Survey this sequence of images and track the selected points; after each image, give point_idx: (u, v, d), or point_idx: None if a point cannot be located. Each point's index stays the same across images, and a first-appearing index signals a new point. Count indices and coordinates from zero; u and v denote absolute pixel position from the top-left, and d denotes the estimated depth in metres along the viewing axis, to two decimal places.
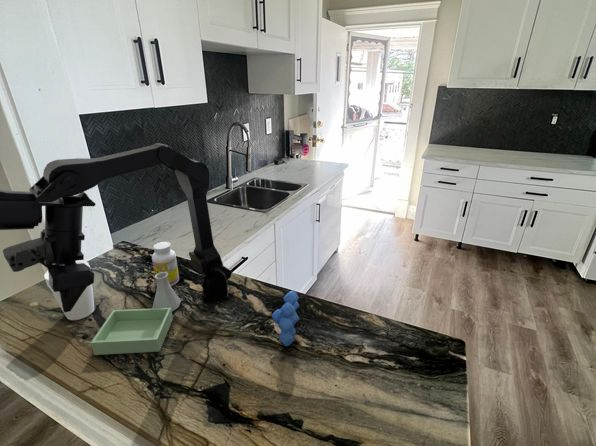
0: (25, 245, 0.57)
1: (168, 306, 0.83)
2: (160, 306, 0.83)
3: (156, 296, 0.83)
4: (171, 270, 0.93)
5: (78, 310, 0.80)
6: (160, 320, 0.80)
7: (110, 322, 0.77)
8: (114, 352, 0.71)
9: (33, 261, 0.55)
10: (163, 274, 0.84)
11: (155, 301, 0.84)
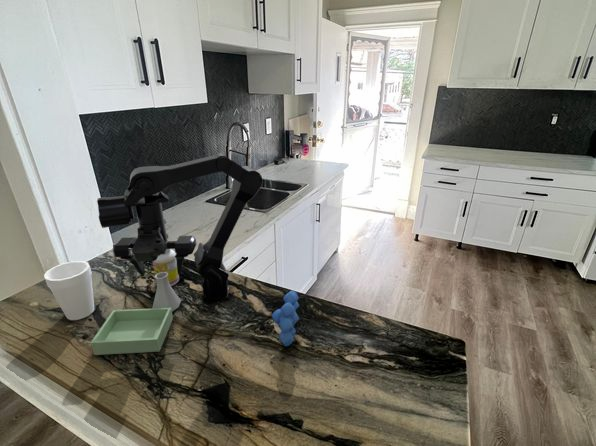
0: (143, 242, 0.73)
1: (168, 306, 0.83)
2: (160, 306, 0.83)
3: (156, 296, 0.83)
4: (171, 270, 0.93)
5: (78, 310, 0.80)
6: (160, 320, 0.80)
7: (110, 322, 0.77)
8: (114, 352, 0.71)
9: (165, 246, 0.74)
10: (163, 274, 0.84)
11: (155, 301, 0.84)
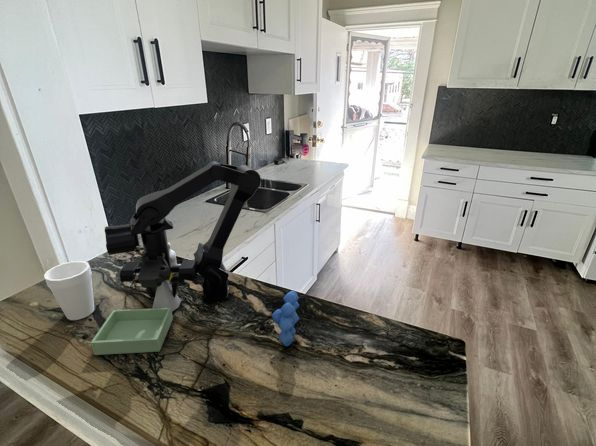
0: (148, 269, 0.75)
1: (168, 306, 0.83)
2: (160, 306, 0.83)
3: (156, 296, 0.83)
4: None
5: (78, 310, 0.80)
6: (160, 320, 0.80)
7: (110, 322, 0.77)
8: (114, 352, 0.71)
9: (169, 272, 0.77)
10: None
11: (155, 301, 0.84)
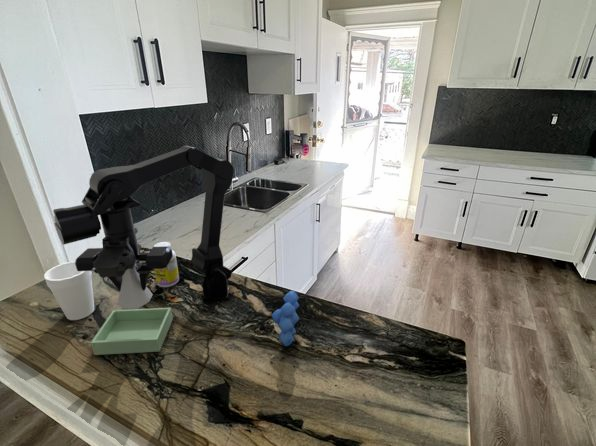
0: (108, 255, 0.63)
1: (135, 300, 0.71)
2: (126, 300, 0.71)
3: (122, 289, 0.71)
4: (171, 270, 0.93)
5: (78, 310, 0.80)
6: (160, 320, 0.80)
7: (110, 322, 0.77)
8: (114, 352, 0.71)
9: (134, 259, 0.65)
10: None
11: (121, 294, 0.72)
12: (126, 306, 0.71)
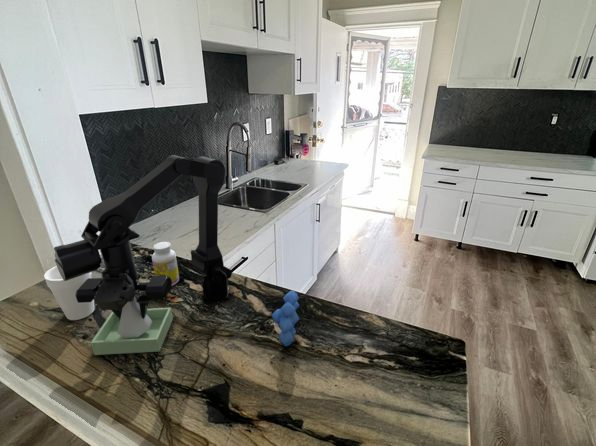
0: (108, 288, 0.64)
1: (135, 329, 0.72)
2: (126, 329, 0.72)
3: (122, 318, 0.72)
4: (171, 270, 0.93)
5: (78, 310, 0.80)
6: (160, 320, 0.80)
7: (110, 322, 0.77)
8: (114, 352, 0.71)
9: (133, 291, 0.66)
10: None
11: (121, 323, 0.72)
12: (126, 335, 0.72)
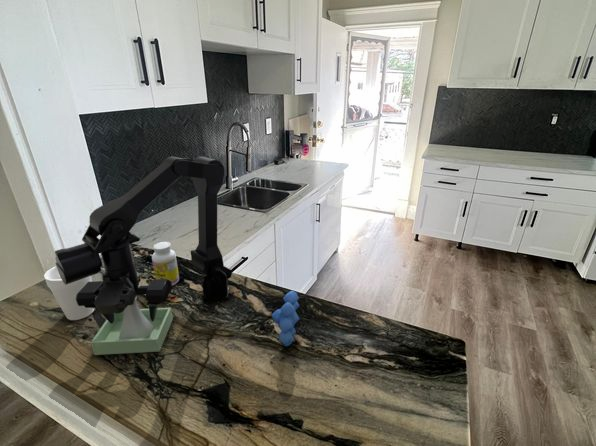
0: (108, 292, 0.64)
1: (136, 334, 0.73)
2: (128, 335, 0.72)
3: (123, 323, 0.73)
4: (171, 270, 0.93)
5: (78, 310, 0.80)
6: (160, 320, 0.80)
7: None
8: (114, 352, 0.71)
9: (134, 295, 0.66)
10: None
11: (122, 329, 0.73)
12: None
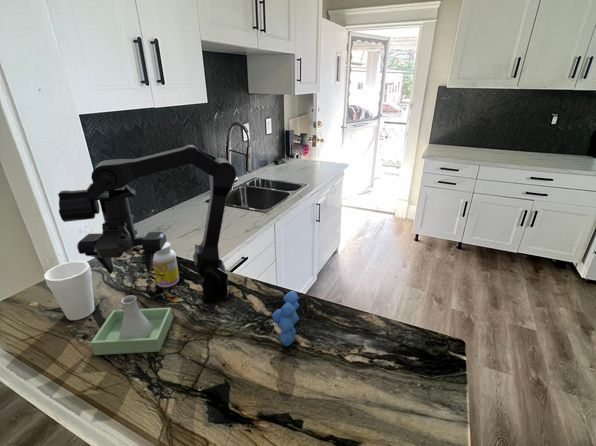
0: (107, 238, 0.70)
1: (136, 334, 0.73)
2: (128, 335, 0.72)
3: (123, 323, 0.73)
4: (171, 270, 0.93)
5: (78, 310, 0.80)
6: (160, 320, 0.80)
7: (110, 322, 0.77)
8: (114, 352, 0.71)
9: (131, 242, 0.72)
10: (131, 298, 0.73)
11: (122, 329, 0.73)
12: None
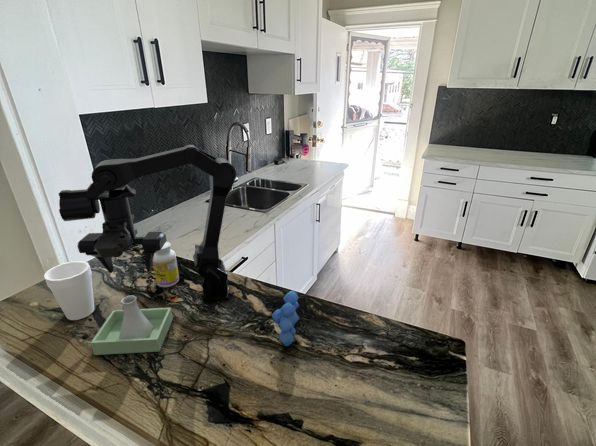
0: (107, 237, 0.70)
1: (136, 334, 0.73)
2: (128, 335, 0.72)
3: (123, 323, 0.73)
4: (171, 270, 0.93)
5: (78, 310, 0.80)
6: (160, 320, 0.80)
7: (110, 322, 0.77)
8: (114, 352, 0.71)
9: (131, 242, 0.72)
10: (131, 298, 0.73)
11: (122, 329, 0.73)
12: None
